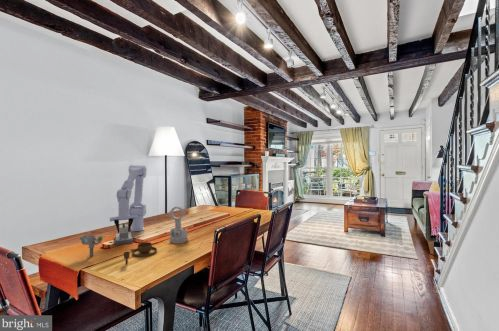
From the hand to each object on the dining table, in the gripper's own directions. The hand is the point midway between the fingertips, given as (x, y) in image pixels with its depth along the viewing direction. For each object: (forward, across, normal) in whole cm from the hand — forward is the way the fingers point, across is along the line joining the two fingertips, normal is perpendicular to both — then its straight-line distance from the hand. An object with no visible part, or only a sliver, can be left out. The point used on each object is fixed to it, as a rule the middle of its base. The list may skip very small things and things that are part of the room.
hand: (123, 232), depth 151 cm
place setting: (+6, +5, -28) cm, 29 cm away
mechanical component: (+5, -15, -20) cm, 26 cm away
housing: (+2, 0, 0) cm, 2 cm away
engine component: (+5, +29, -13) cm, 32 cm away
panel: (+5, 0, 0) cm, 5 cm away
